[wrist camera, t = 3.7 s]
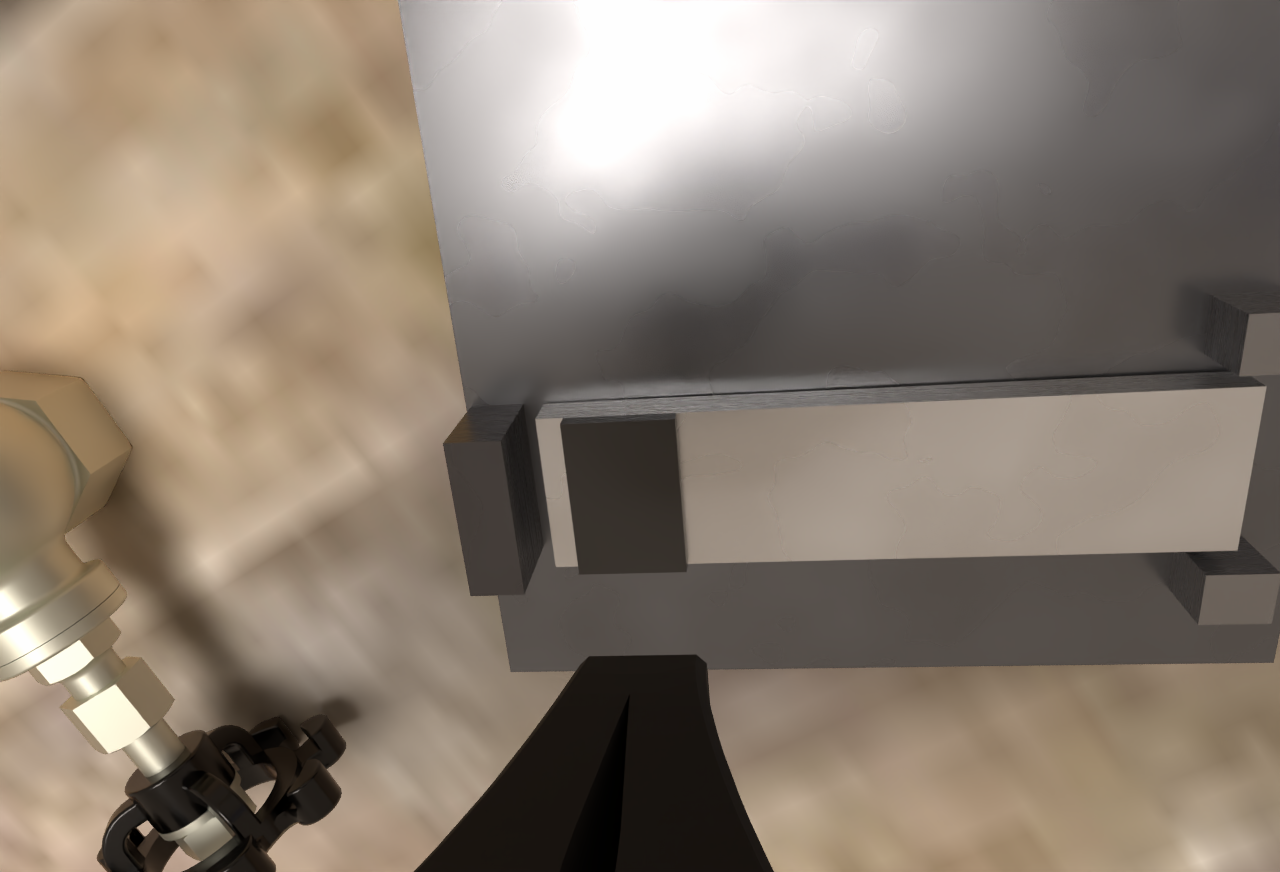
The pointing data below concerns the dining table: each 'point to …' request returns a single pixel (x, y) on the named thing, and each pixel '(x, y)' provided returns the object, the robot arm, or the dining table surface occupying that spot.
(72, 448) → the valve
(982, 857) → the dining table surface
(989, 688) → the dining table surface
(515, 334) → the grey flat block
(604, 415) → the steel strap
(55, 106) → the dining table surface
